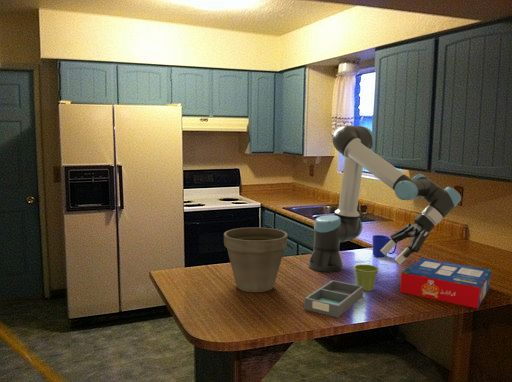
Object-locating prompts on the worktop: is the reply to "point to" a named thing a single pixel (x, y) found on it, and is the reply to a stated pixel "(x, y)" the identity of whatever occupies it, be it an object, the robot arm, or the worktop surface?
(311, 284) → the worktop surface
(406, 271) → the pasta box
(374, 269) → the plant pot
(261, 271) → the plant pot
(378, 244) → the mug
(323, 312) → the tray
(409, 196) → the robot arm
